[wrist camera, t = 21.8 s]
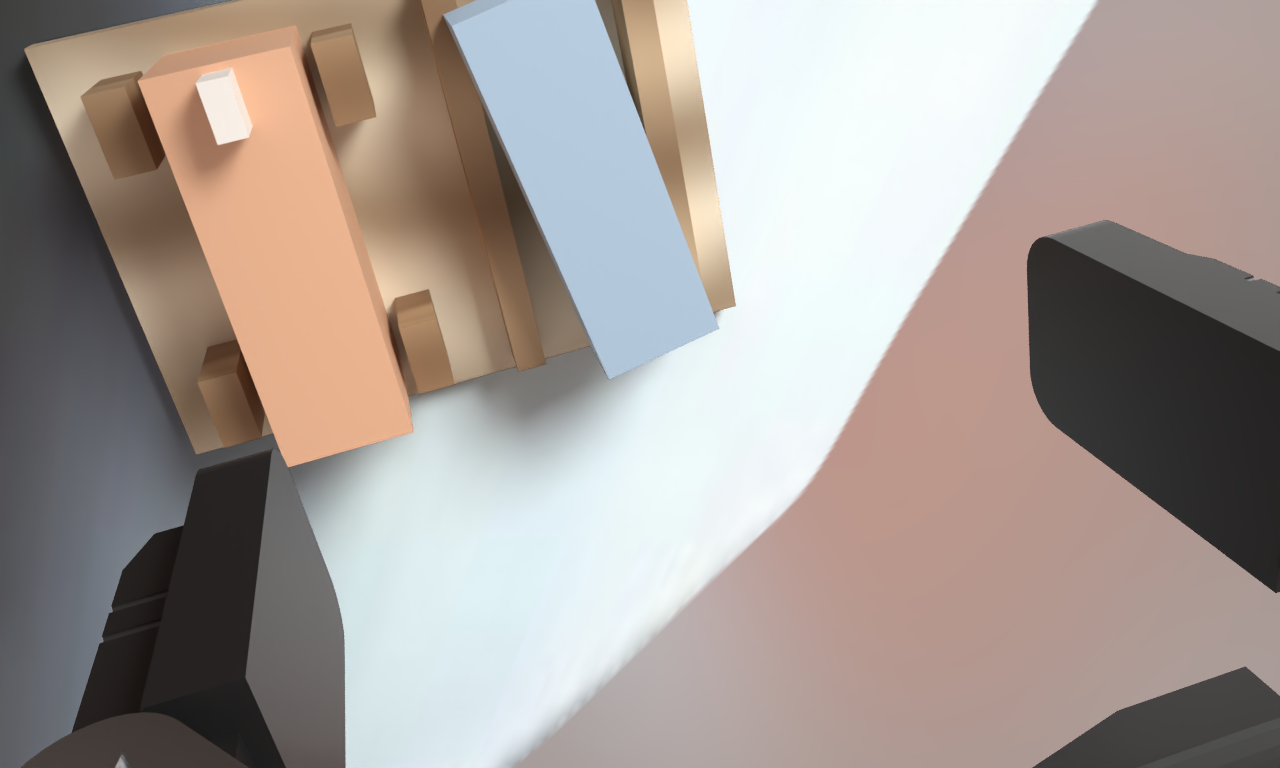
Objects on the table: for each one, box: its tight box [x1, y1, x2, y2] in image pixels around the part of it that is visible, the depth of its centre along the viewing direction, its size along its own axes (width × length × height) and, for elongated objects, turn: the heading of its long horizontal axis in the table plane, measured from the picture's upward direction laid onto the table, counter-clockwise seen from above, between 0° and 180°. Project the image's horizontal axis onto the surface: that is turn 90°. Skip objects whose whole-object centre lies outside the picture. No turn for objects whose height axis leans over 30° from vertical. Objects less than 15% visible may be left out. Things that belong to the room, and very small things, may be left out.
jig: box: [24, 0, 736, 455], centre depth 36 cm, size 14×20×4 cm
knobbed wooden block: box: [138, 25, 413, 467], centre depth 34 cm, size 12×4×6 cm, turn 13°
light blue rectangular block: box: [443, 0, 719, 380], centre depth 35 cm, size 12×4×3 cm, turn 23°
